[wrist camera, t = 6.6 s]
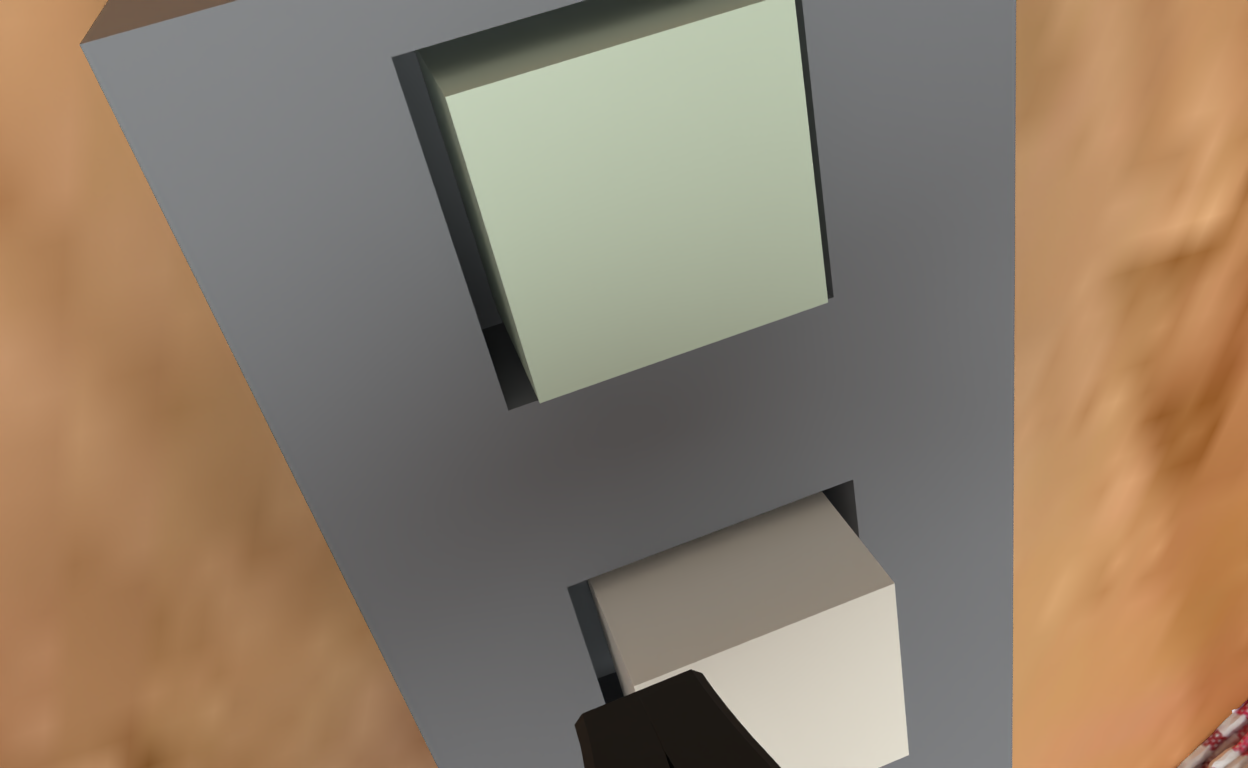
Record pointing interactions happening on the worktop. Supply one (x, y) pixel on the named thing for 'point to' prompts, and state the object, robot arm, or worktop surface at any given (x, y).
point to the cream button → (771, 633)
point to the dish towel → (1224, 744)
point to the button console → (618, 407)
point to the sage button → (633, 177)
